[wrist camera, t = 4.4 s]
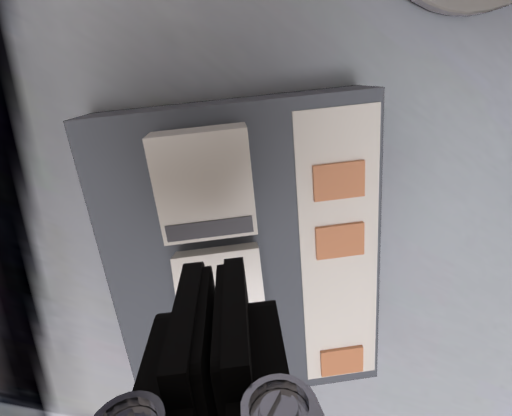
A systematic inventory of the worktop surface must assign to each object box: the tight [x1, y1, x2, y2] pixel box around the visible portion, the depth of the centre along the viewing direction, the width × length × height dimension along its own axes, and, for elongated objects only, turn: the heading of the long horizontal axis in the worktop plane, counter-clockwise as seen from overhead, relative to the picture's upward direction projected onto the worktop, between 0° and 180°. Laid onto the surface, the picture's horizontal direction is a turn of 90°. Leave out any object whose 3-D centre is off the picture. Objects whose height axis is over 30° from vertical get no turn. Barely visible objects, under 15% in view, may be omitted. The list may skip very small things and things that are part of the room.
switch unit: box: [63, 85, 384, 386], centre depth 23 cm, size 16×19×5 cm
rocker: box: [142, 122, 258, 246], centre depth 17 cm, size 4×5×2 cm
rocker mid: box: [170, 242, 265, 303], centre depth 19 cm, size 4×5×2 cm
